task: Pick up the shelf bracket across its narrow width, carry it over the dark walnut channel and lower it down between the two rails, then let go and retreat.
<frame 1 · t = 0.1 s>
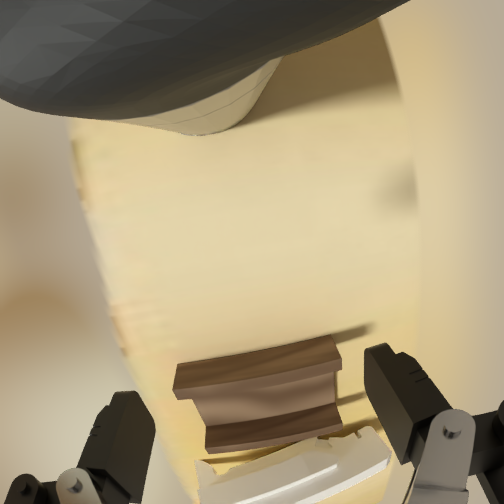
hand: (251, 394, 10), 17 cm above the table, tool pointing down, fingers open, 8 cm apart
shelf bracket: (284, 447, 37), on the table
walnut channel: (263, 391, 32), on the table
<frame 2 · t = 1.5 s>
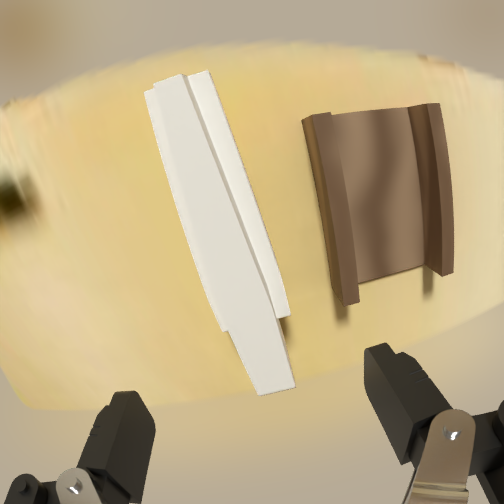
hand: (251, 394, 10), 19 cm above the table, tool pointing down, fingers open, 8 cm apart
shelf bracket: (235, 228, 28), on the table
walnut channel: (379, 195, 27), on the table
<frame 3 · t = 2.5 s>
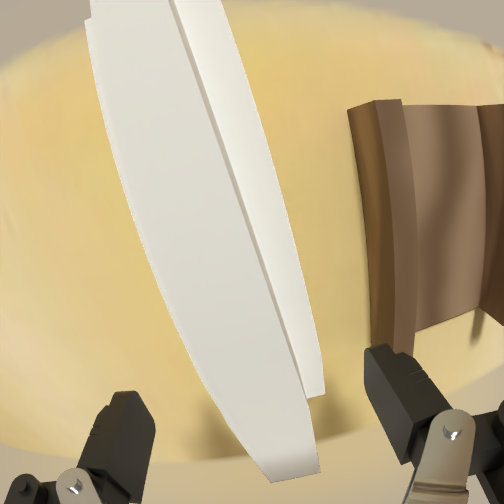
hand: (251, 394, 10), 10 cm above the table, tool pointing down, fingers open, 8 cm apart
shelf bracket: (241, 258, 19), on the table
walnut channel: (440, 222, 18), on the table
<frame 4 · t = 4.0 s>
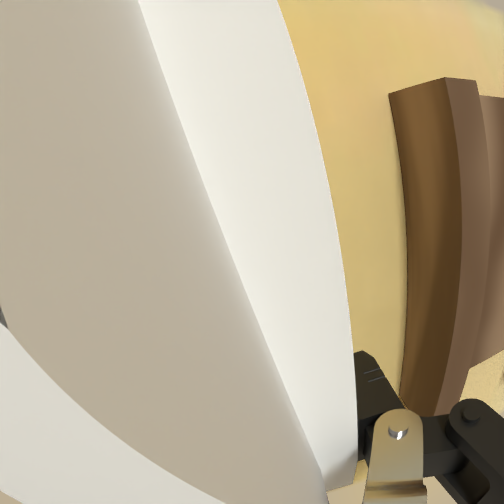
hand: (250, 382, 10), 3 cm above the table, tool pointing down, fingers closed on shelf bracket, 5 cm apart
shelf bracket: (235, 295, 13), on the table, touching gripper
walnut channel: (492, 247, 13), on the table
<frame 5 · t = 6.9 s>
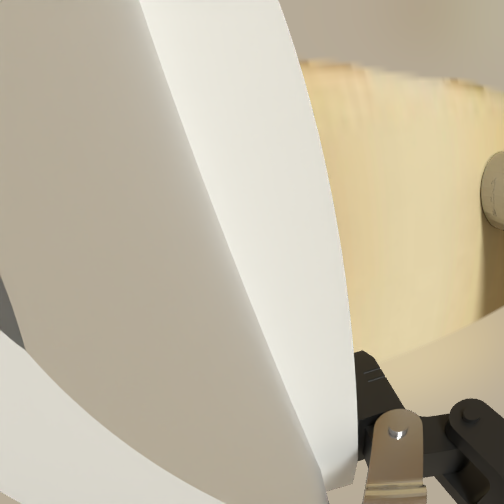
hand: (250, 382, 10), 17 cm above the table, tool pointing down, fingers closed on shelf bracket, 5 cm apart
shelf bracket: (235, 295, 13), point 14 cm above the table, touching gripper
when the fingers open (4 cm above the table, at t = 10.0 s): shelf bracket stays where it is, resting on walnut channel.
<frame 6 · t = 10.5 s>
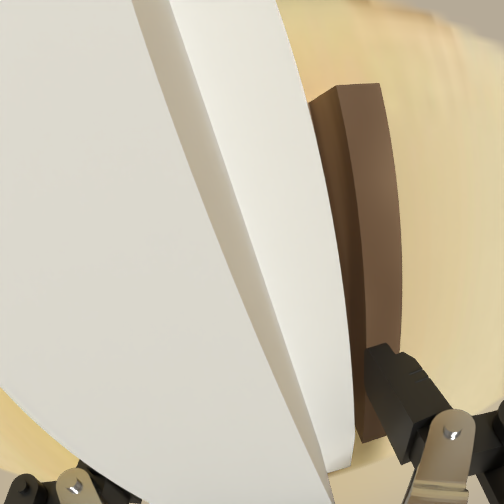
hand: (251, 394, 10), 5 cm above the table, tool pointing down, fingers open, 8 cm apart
shelf bracket: (238, 285, 14), resting on walnut channel
walnut channel: (240, 301, 14), on the table
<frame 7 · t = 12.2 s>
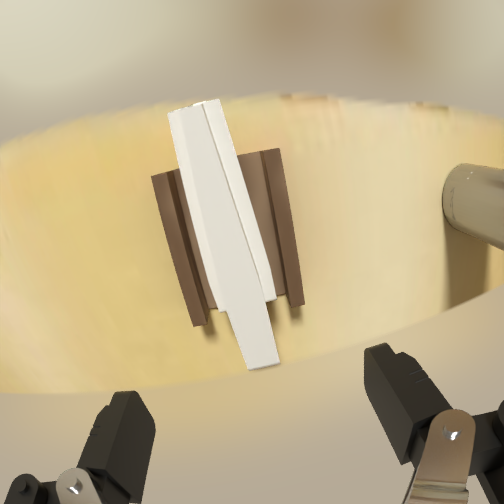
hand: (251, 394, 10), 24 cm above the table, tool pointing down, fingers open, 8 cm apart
shelf bracket: (231, 226, 33), resting on walnut channel
walnut channel: (232, 233, 33), on the table
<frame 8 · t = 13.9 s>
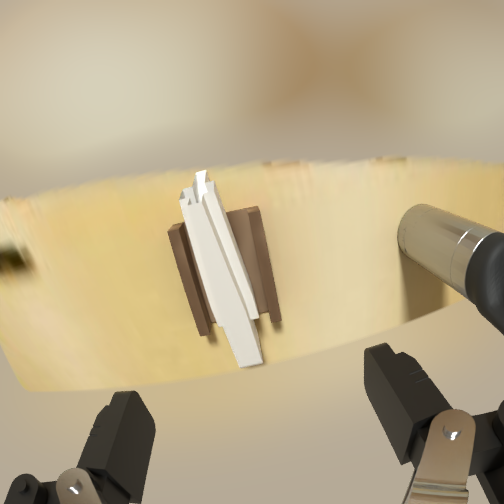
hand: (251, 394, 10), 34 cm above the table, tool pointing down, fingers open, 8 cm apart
shelf bracket: (226, 263, 44), resting on walnut channel
walnut channel: (227, 268, 44), on the table
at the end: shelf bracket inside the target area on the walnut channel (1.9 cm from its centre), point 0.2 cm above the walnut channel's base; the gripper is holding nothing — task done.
